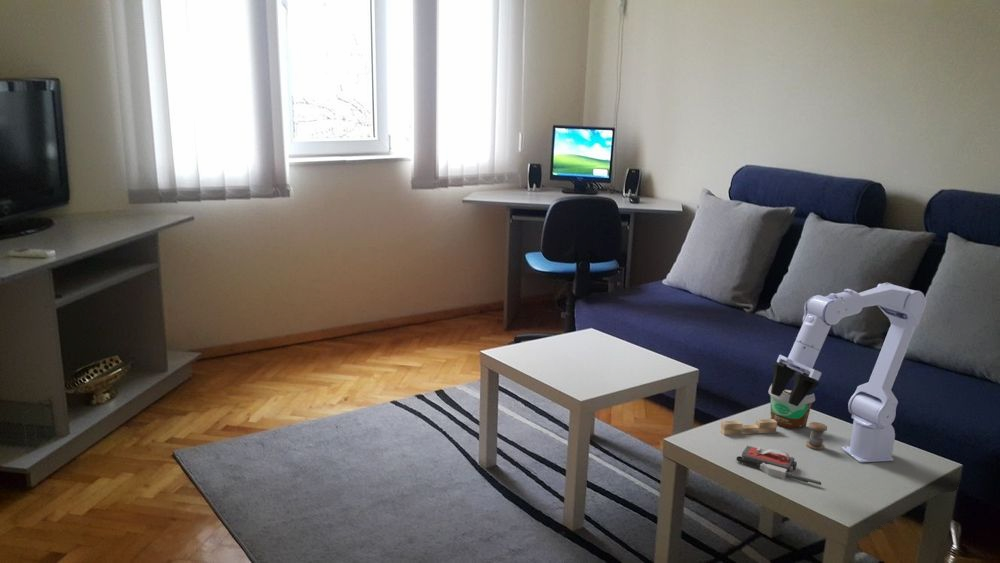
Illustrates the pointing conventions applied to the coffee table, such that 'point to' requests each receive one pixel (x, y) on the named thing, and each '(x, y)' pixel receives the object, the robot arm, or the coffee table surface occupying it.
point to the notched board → (748, 427)
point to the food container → (790, 410)
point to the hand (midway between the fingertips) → (783, 399)
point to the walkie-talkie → (772, 463)
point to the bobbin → (816, 436)
